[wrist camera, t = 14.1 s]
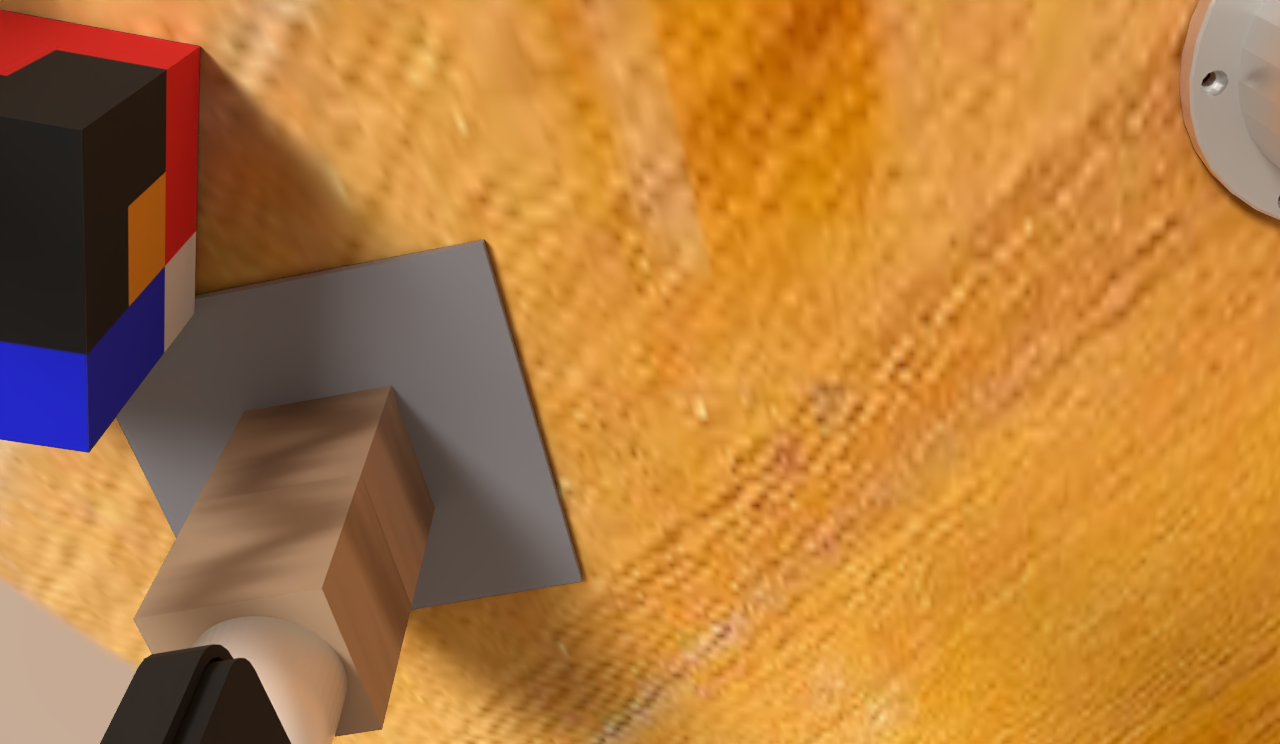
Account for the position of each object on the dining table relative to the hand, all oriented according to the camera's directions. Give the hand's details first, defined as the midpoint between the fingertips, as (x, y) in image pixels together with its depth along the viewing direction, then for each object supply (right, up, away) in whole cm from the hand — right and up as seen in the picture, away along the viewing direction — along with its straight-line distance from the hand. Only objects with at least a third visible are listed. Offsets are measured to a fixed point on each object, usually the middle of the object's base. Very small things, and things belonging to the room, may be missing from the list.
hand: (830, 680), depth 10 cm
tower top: (-13, -4, +33) cm, 36 cm away
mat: (-13, -1, +39) cm, 41 cm away
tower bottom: (-13, -1, +38) cm, 41 cm away
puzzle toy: (-22, +10, +33) cm, 41 cm away
